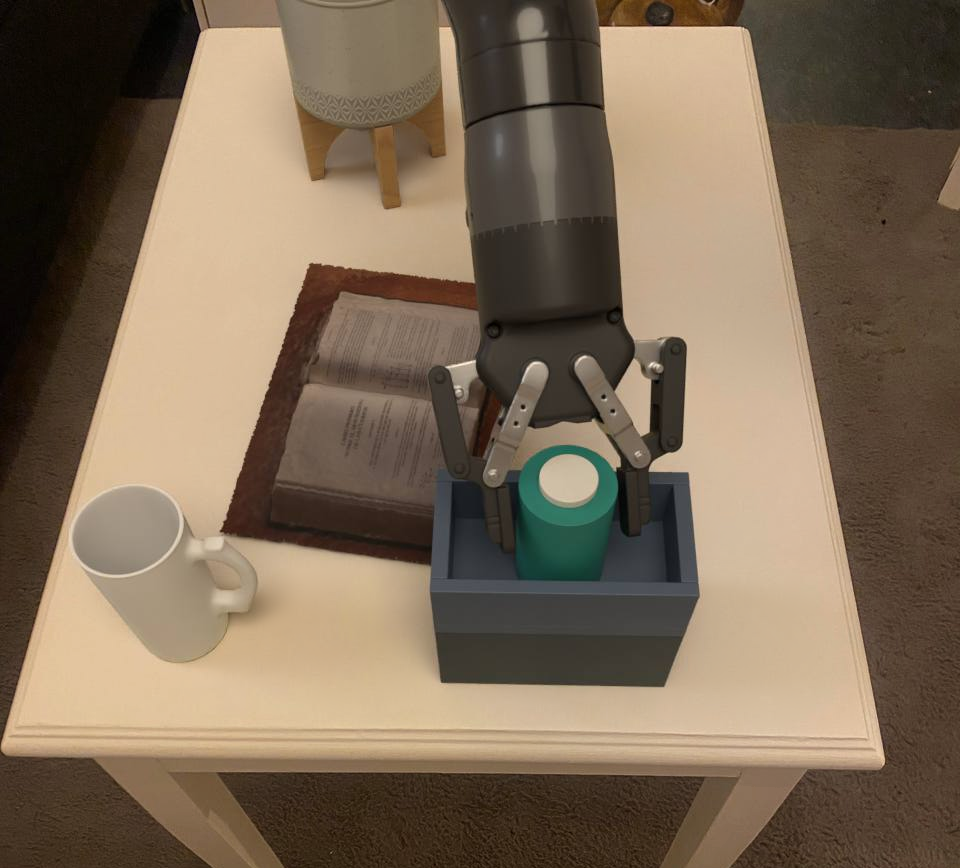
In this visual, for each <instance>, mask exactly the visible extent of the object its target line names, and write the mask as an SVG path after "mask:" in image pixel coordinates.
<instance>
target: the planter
mask: <svg viewBox="0 0 960 868" xmlns="http://www.w3.org/2000/svg"><path fill="white" fill-rule="evenodd" d="M274 1H275V6H276V12H277V16H278V20H279V27H280V31H281V36H282V37H281V38H282V42H283V47H284V52H285V58H286V62H287V66H288V71H289V77H290V82H291V87H292V94H293V100H294V104H295V110H296V115H297V119H298V124H299V128H300V129H299V130H300V135H301V140H302V144H303V149H304V154H305V161H306V165H307V171H308V174H309V177H310V180H311V181H317V180H322V179H323V180H324V179H325V177H326V176H325V164H326V160H327V159H326V158H327V156H328V153H329V150H330V149H331V146H332V145H333V144H334V142H335V140H336V139H337V138H338V137H339V136H340V135H342V133H343V132H345V130H352V131H363V132H364V131H367V132H368V137H369V140H370V145H371V149H372V154H373V157H374V162H375V163H374V164H375V167H376V168H375V169H376V174H377V178H378V184H379V190H380V196H381V202H382V205H383V209H384V210H387V209H392V208H397V207H401V206H402V203H401V194H400V193H401V192H400V183H399V175H398V167H397V166H398V165H397V156H396V148H395V147H396V146H395V136H394V126H397V125H399V124H401V123H403V122H405V121H407V122H409V123H411V124H412V125H414V126H415V127H416V128H418V129H419V130H420V131H421V132H422V133H423V135H424V136H425V138H426V139H427V141H428V147H429V151H430V154H431V156H432V157H433V158H436V157H441V156H442V157H443V156H446V155H447V151H446V149H447V148H446V132H445V114H444V111H445V109H444V95H443V93H444V92H443V73H442V57H441V56H442V55H441V38H440V17H439V16H440V15H439V0H274Z"/></svg>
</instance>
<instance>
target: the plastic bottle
mask: <svg viewBox="0 0 960 868" xmlns="http://www.w3.org/2000/svg"><path fill="white" fill-rule="evenodd" d="M520 470H521V473H520V476H519V481H518V506H517V533H516V560H515V568H516V573H517V576H518V578H519V580H545V581H599V580H600V578H601V575H602V570H603V565H604V560H605V555H606V550H607V545H608V539H609V534H610V529H611V524H612V519H613V514H614V509H615V504H616V499H617V494H618V481H617V477H616V474H615V472H614V471H615V470H614V468H613V466H612V465H611V464H610V462H608V460H606V458H604V457H603V456H602V455H600V454H599V453H597V452H596V451H594V450H592V449H589V448H587V447H585V446H580V445H576V444H575V445H574V444H560V445H552V446H550V447H547V448H546V447H545V448H544V449H542V450H540V451H538V452H537V453H535V454H534V455H532V456H531V457H530V458H528V460H527V461H526V463H524V465H523V467H522V469H520Z"/></svg>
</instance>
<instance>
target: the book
mask: <svg viewBox="0 0 960 868" xmlns="http://www.w3.org/2000/svg"><path fill="white" fill-rule="evenodd" d="M304 276H305V277H304V280H302V285H301V286H300V288H301V290H300V291H299V293H298V295H297V297H296V303H295V304H294V308H293V309H294V311H293V314H292V316H290V319H289V322H288V327H287V328H286V332H285V334H284V338H283V340H282V341H283V343H282V344H281V349H280V351H279V354H278V355H277V360H276V362H275V367H274V368H273V371H272V373H271V376H270V377H271V378H270V380H269V382H268V384H267V386H268V388H267V391H265V394H264V399H263V401H262V405H261V406H260V410H259V413H258V415H259V416H258V418H257V419H256V423H255V424H256V425H254V426H255V428H254V430H253V431H252V435H251V436H250V440H249V443H248V445H247V449H246V451H245V453H244V458H243V462H242V466H241V470H240V472H239V473H238V476H237V478H236V481H235V487H234V489H233V494H231V495H232V496H231V499H230V501H231V502H230V503H229V505H228V510H227V512H226V514H225V515H226V517H225V518H226V519H224V520H222V523H223V524H222V527H221V528H220V529H219V530H218V531H219V533H223V534H225V535H227V534H228V535H230V536H232V535H236V536H237V537H239V536H243V537H244V538H245V537H248V536H250V537H253V538H254V539H266V540H267V541H271V540H272V541H273V542H279V543H282V541H284V543H285V544H286V543H288V542H289V543H292V544H297V545H299V546H305V547H309V546H311V547H314V548H319V549H321V548H323V550H325V549H326V550H330V551H337V552H344V553H348V554H349V553H354V554H357V555H364V554H365V555H366V556H371V557H376V558H380V559H381V558H382V559H383V558H385V559H390V560H393V561H394V560H398V561H399V560H400V561H404V562H410V563H413V564H415V563H417V564H420V565H422V564H427V565H430V566H431V559H432V542H433V525H434V508H435V491H436V473H437V469H447V468H446V465H445V460H444V455H443V451H442V446H441V442H440V437H439V433H438V428H437V424H436V419H435V415H434V410H433V405H432V401H431V396H430V392H429V387H428V383H427V378H426V373H427V370H428V369H429V368H430V367H431V366H432V365H435V364H439V365H442V366H446V365H451V364H455V363H460V362H464V361H469V360H473V359H475V355H476V353H477V351H478V348H479V344H480V325H479V316H478V306H477V297H476V288H475V282H471V281H469V282H468V281H461V280H460V281H459V280H456V279H454V280H450V279H448V278H447V279H445V278H443V279H441V278H435V277H429V278H428V277H425V276H418V275H411V274H403V273H396V272H393V271H392V272H390V271H377V270H375V271H374V270H369V269H365V268H352V267H347V268H345V267H344V266H341V265H337V266H335V265H333V264H332V265H331V264H324V265H323V264H322V263H314V262H310V263H309V264H308V267H307V268H306V273H305V275H304ZM501 407H502V404H501V403H500V402H499V401H498V400H497V398H496V397H495V396H494V395H493V394H492V393H491V392H490V390H489V389H488V388H487V387H486V386H485V385H484V384H483V383H482V381H481V380H480V379H479V378H475V379H474V380H473V381H472V382H471V384H470V386H469V397H468V399H467V401H466V402H464V403H463V404H460V405H458V410H459V415H460V419H461V424H462V429H463V434H464V438H465V443H466V448H467V453H468V455H470V456H474V457H478V458H483V456H484V453H485V451H486V448H487V446H488V443H489V441H490V438H491V433H492V430H493V427H494V425H495V422H496V420H497V417H498V415H499V412H500V409H501Z"/></svg>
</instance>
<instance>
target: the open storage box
mask: <svg viewBox="0 0 960 868" xmlns="http://www.w3.org/2000/svg"><path fill="white" fill-rule="evenodd" d="M521 470H522V469H509V470H508V472H507V475H506V477H505V482H506V483H507V485H508V486H509V487H510V497H511V506H512V516H513V526H514V535H515V545H516V533H517V506H518V481H519V476H520V473H521ZM614 472H615V474H616V470H614ZM616 477H617V474H616ZM690 484H691V483H690V473H689V471H649V487H650V505H651V517H650V520H649V523H648V524H647V525H641V536H635V537H627V536H625V535H624V534H623V533H622V531H621V528H620V517H619V503H618V494H617V499H616V504H615V509H614V514H613V519H612V524H611V529H610V534H609V539H608V545H607V550H606V555H605V560H604V565H603V570H602V575H601V578H600V580H599V581H545V580H519V578H518V576H517V573H516V568H515V560H516V552H512V553H505V554H503V552H502V550H501V548H500V544H494V545H493V543H492V541H491V539H490V538H489V536H488V534H487V532H486V525H485V517H484V508H483V499H482V490H481V487H480V485H478V484H477V483H475V482H471V481H467V480H463V479H460V480H458V479H455V478H453V477H452V476H451V475H450V474H449V472H448V470H447V469H437V473H436V491H435V508H434V525H433V542H432V559H431V565H430V580H429V598H430V606H431V613H432V614H431V615H432V622H433V630H434V637H435V638H434V639H435V645H436V651H437V652H436V653H437V662H438V669H439V678H440V683H442V684H483V685H484V684H485V685H487V684H489V685H535V686H536V685H537V686H538V685H539V686H540V685H542V686H589V687H591V686H592V687H595V686H597V687H599V686H600V687H646V688H647V687H648V688H649V687H650V688H664V687H665V686H666V683H667V681H668V678H669V675H670V673H671V670H672V668H673V665H674V662H675V660H676V658H677V655H678V653H679V650H680V647H681V644H682V642H683V640H684V637H685V635H686V632H687V630H688V627H689V624H690V622H691V619H692V617H693V614H694V611H695V609H696V607H697V604H698V601H699V599H700V597H701V593H700V583H699V572H698V561H697V551H696V538H695V528H694V515H693V506H692V495H691V485H690Z"/></svg>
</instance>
